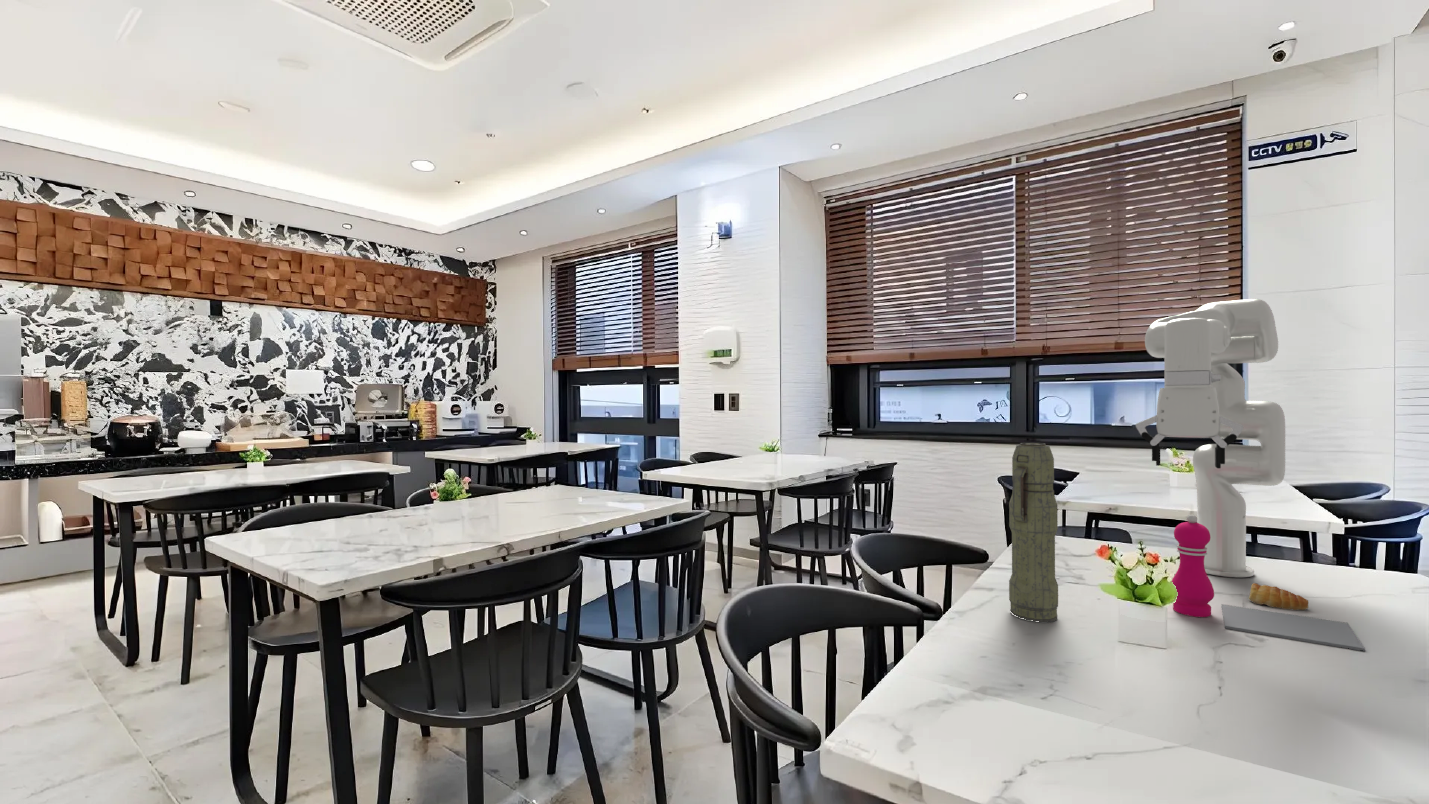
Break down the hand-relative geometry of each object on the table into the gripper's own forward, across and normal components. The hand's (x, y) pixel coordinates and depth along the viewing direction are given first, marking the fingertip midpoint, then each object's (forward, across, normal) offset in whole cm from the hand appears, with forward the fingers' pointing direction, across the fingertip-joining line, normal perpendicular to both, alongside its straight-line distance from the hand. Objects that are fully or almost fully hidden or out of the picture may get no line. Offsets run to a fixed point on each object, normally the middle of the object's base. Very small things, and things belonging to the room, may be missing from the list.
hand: (1187, 466), depth 128 cm
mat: (+30, -15, -3) cm, 34 cm away
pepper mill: (+30, -1, -4) cm, 31 cm away
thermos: (+31, +26, +16) cm, 43 cm away
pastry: (+31, -15, -19) cm, 39 cm away
